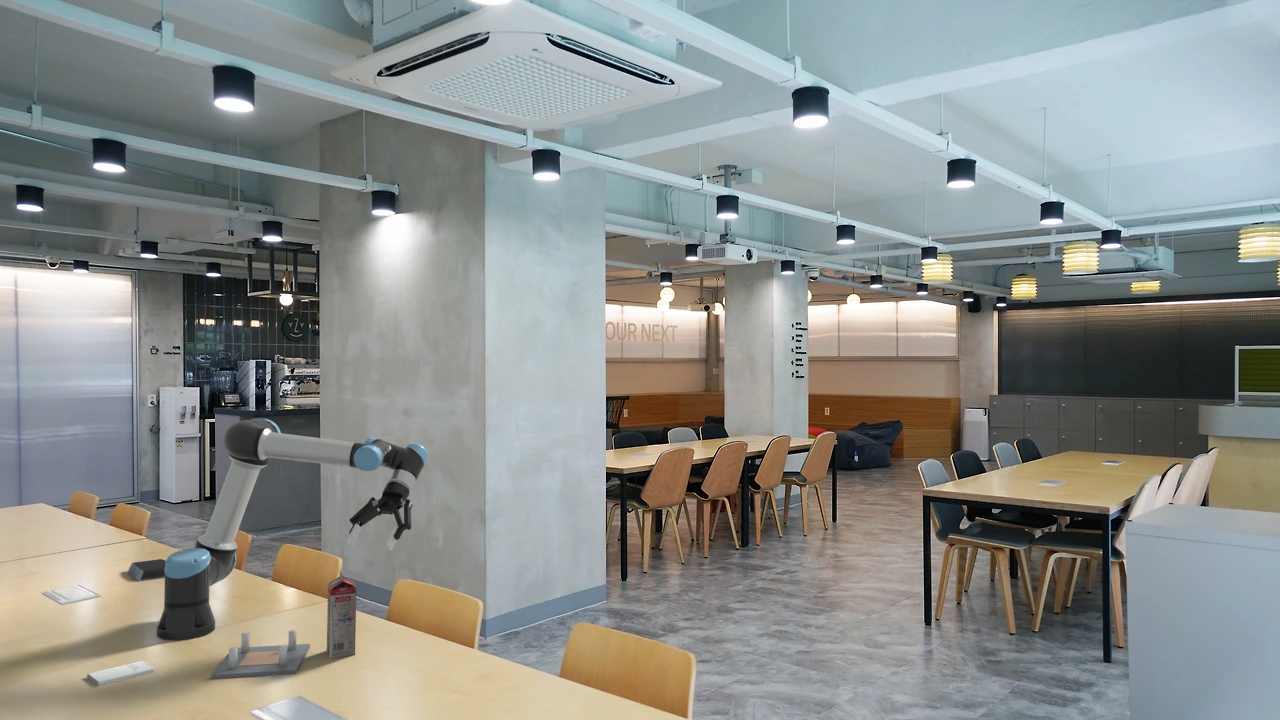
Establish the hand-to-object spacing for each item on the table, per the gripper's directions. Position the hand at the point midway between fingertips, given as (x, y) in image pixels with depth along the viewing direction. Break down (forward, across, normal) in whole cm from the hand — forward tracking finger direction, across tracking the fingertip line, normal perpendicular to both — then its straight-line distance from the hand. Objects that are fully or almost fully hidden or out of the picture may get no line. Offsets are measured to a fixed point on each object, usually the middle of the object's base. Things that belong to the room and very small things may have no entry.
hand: (368, 546), depth 235 cm
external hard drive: (-6, +121, -43) cm, 129 cm away
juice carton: (+28, 0, -10) cm, 30 cm away
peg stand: (+37, +14, -1) cm, 39 cm away
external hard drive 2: (+50, +41, +12) cm, 66 cm away
